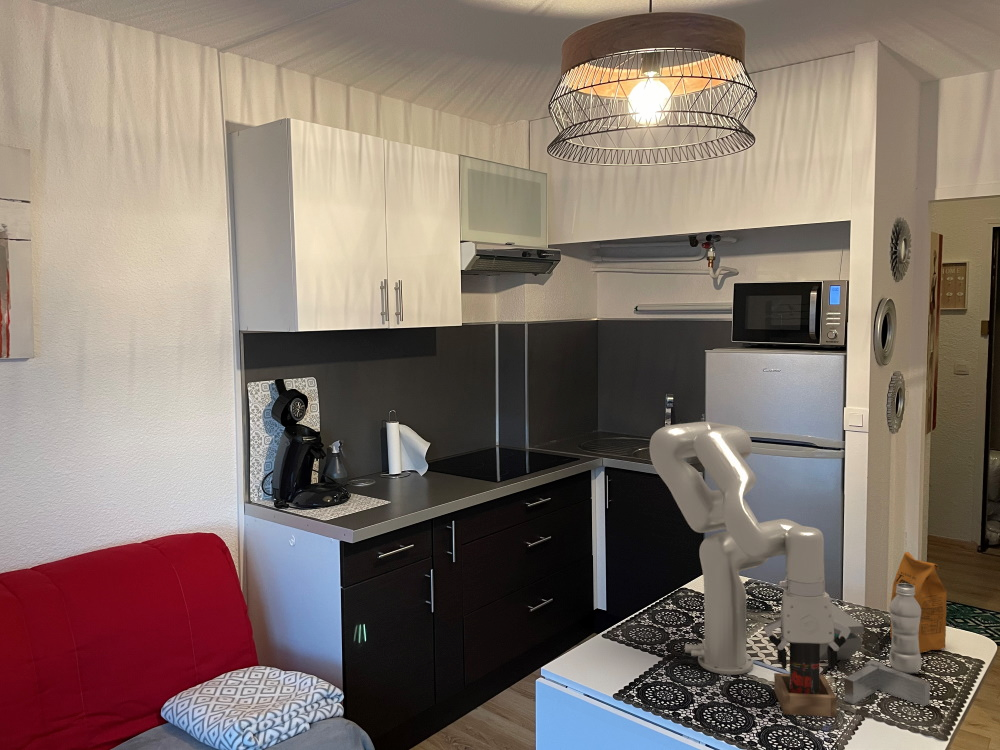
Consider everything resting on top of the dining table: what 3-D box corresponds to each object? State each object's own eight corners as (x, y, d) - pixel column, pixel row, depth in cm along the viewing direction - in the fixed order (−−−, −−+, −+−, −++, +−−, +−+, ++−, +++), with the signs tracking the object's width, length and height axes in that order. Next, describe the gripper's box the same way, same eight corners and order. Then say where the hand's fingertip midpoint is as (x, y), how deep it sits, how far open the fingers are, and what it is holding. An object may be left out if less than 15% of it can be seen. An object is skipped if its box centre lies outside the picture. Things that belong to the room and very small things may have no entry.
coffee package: (919, 632, 203) (920, 548, 202) (952, 652, 191) (953, 563, 189) (883, 635, 202) (883, 550, 201) (913, 655, 190) (914, 565, 188)
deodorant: (784, 697, 171) (784, 630, 170) (811, 695, 172) (811, 628, 170) (797, 711, 165) (797, 641, 164) (824, 709, 166) (825, 639, 165)
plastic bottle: (925, 678, 178) (926, 591, 177) (893, 676, 180) (893, 590, 178) (916, 665, 185) (917, 581, 183) (885, 664, 186) (885, 580, 185)
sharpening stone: (863, 672, 182) (863, 626, 181) (830, 674, 182) (830, 627, 181) (812, 629, 207) (813, 589, 206) (783, 631, 207) (783, 590, 206)
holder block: (783, 714, 164) (783, 695, 164) (774, 690, 174) (774, 673, 174) (836, 716, 162) (836, 697, 162) (824, 692, 173) (824, 675, 172)
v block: (846, 704, 168) (846, 681, 167) (831, 679, 179) (832, 658, 178) (932, 708, 165) (932, 684, 165) (912, 682, 176) (912, 661, 176)
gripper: (765, 592, 164) (767, 673, 165) (854, 592, 161) (855, 675, 162) (759, 580, 171) (761, 658, 172) (843, 581, 169) (845, 660, 170)
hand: (807, 666), depth 167 cm, fingers open, 9 cm apart
